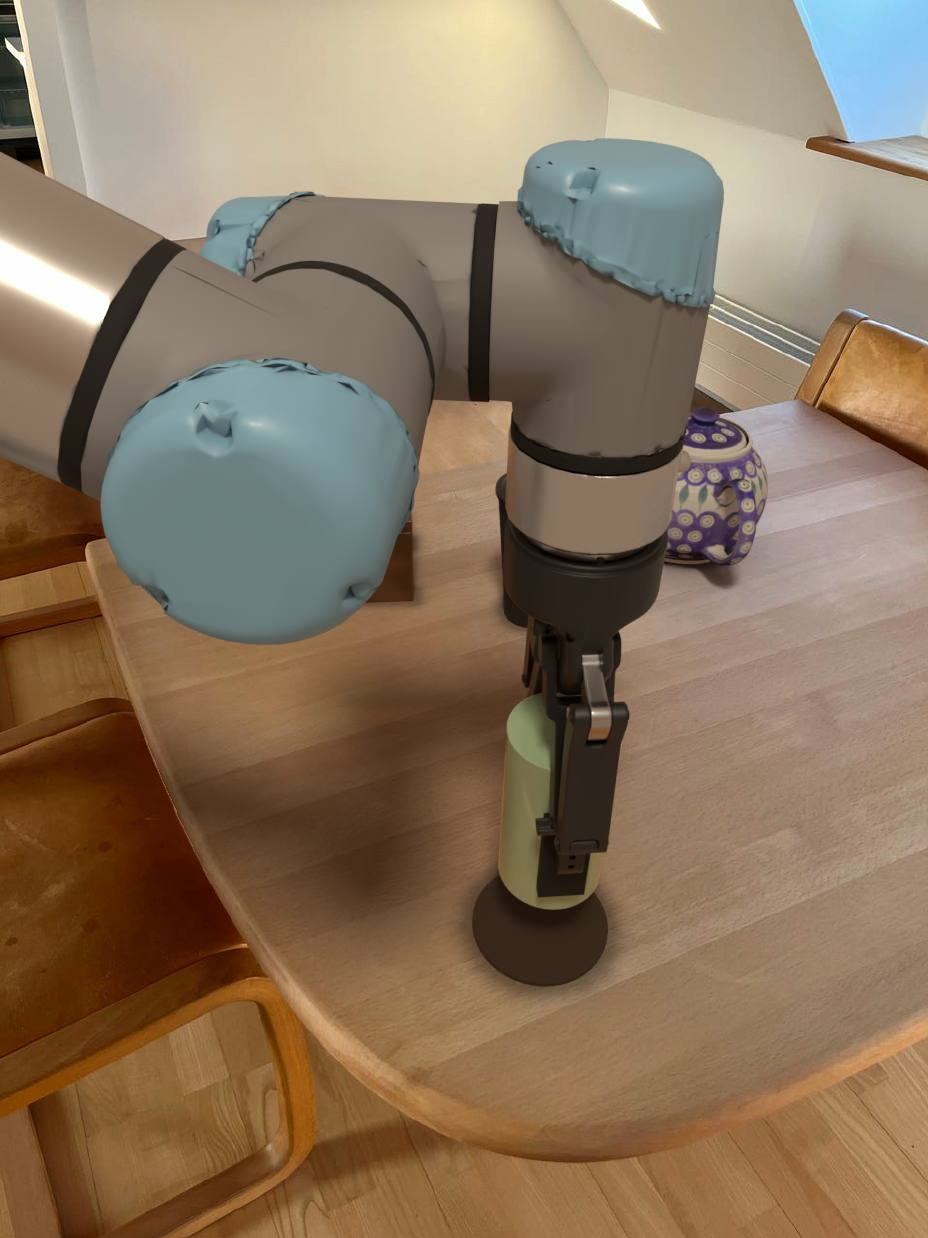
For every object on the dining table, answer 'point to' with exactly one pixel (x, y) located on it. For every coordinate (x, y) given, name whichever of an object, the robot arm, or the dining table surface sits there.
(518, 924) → the coaster
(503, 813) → the canister
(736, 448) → the teapot
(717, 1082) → the dining table surface
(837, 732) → the dining table surface
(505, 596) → the drinking cup
